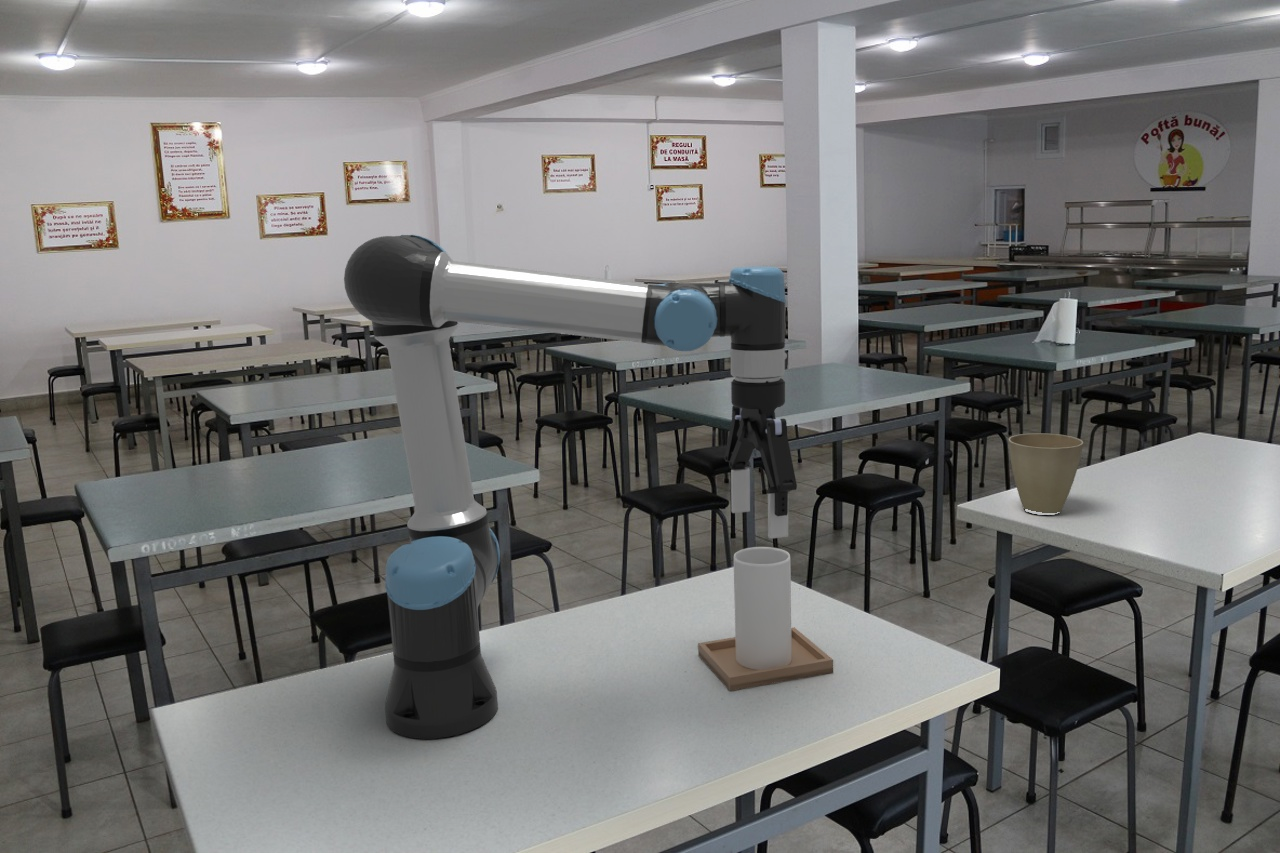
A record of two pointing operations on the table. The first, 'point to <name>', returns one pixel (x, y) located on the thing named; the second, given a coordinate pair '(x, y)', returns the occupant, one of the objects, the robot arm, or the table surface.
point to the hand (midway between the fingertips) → (758, 524)
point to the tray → (736, 676)
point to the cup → (762, 607)
